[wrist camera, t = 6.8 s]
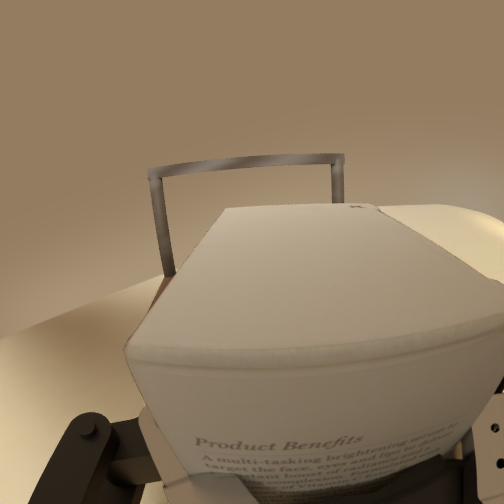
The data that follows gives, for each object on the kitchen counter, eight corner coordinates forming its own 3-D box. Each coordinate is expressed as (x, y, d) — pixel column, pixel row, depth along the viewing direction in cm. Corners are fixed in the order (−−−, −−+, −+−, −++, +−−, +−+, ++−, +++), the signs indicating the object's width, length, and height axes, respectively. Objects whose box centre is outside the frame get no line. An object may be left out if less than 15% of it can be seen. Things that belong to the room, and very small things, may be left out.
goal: (140, 367, 16) (91, 176, 12) (169, 290, 28) (149, 168, 24) (397, 334, 17) (415, 154, 13) (339, 272, 29) (339, 153, 25)
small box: (246, 404, 13) (221, 206, 10) (347, 397, 13) (371, 199, 10) (231, 537, 6) (101, 342, 2) (375, 525, 5) (542, 299, 2)
